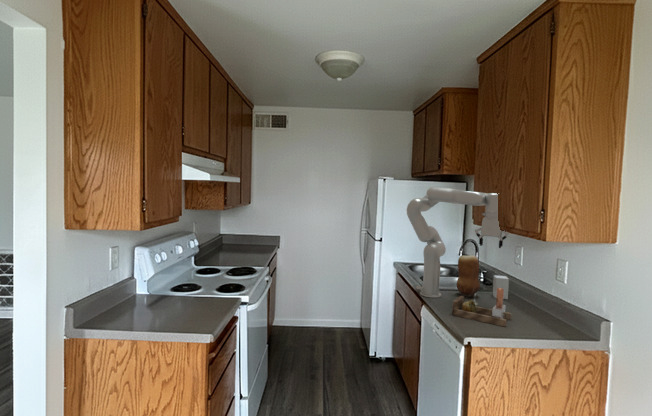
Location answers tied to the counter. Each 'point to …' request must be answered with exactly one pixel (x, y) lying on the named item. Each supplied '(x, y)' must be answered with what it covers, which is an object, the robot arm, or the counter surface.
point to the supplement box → (500, 285)
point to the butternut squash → (468, 275)
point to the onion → (469, 306)
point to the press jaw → (499, 305)
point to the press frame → (479, 317)
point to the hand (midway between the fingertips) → (490, 246)
